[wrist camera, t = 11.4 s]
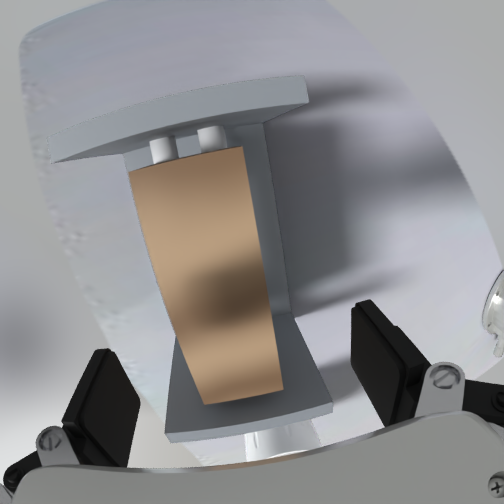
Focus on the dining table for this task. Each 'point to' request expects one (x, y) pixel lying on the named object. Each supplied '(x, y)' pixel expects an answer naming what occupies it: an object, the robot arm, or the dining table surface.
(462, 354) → the dining table surface
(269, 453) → the white cup
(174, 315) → the shelf board
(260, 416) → the peg frame
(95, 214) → the dining table surface
